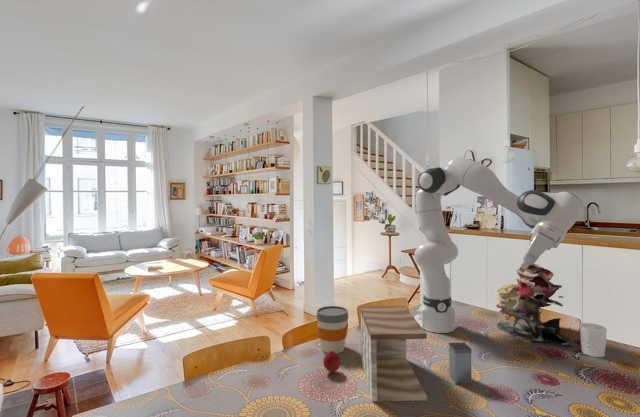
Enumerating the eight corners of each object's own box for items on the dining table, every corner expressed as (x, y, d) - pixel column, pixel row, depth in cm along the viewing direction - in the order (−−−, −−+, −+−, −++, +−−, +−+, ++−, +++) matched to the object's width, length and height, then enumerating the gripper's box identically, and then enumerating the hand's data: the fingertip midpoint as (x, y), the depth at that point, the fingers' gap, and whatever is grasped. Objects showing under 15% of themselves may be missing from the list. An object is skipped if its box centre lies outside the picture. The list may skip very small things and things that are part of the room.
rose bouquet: (544, 321, 161) (544, 257, 160) (583, 348, 132) (583, 270, 131) (486, 319, 164) (485, 257, 164) (511, 345, 135) (511, 269, 135)
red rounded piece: (342, 369, 118) (342, 346, 118) (337, 378, 113) (337, 354, 113) (326, 367, 120) (326, 344, 120) (321, 375, 115) (320, 351, 115)
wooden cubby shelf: (361, 359, 125) (360, 306, 125) (405, 359, 125) (404, 305, 125) (371, 401, 99) (370, 334, 99) (427, 400, 99) (426, 333, 99)
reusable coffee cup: (326, 358, 127) (325, 318, 127) (311, 346, 138) (310, 308, 138) (355, 351, 133) (354, 312, 132) (338, 339, 144) (337, 304, 144)
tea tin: (449, 375, 113) (448, 342, 113) (464, 375, 113) (464, 342, 113) (455, 384, 108) (455, 349, 108) (471, 384, 108) (471, 349, 108)
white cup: (611, 359, 123) (611, 331, 122) (586, 357, 124) (586, 330, 124) (598, 349, 130) (598, 323, 130) (575, 348, 132) (575, 322, 132)
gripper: (533, 237, 126) (511, 268, 126) (539, 224, 108) (514, 260, 109) (551, 247, 123) (528, 278, 123) (561, 235, 105) (534, 272, 106)
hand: (521, 270), depth 116 cm, fingers open, 8 cm apart
